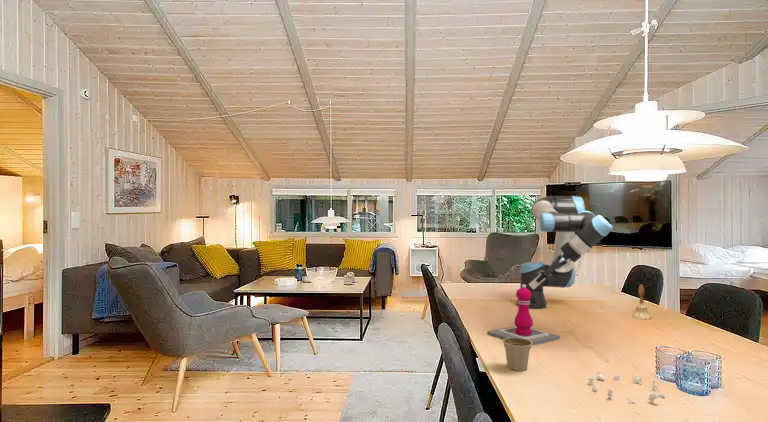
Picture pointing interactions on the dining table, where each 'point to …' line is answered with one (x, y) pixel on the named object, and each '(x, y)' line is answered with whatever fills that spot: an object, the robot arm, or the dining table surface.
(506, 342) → the flower pot
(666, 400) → the dining table surface
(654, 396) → the game piece set
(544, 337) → the plate
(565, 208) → the robot arm
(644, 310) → the hand bell
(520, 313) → the pepper mill
